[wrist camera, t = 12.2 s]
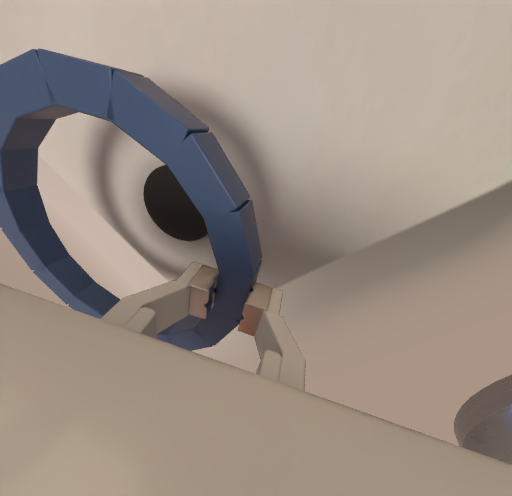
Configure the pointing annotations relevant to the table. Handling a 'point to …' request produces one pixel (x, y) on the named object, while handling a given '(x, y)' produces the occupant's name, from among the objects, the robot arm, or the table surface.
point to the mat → (172, 206)
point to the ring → (150, 137)
